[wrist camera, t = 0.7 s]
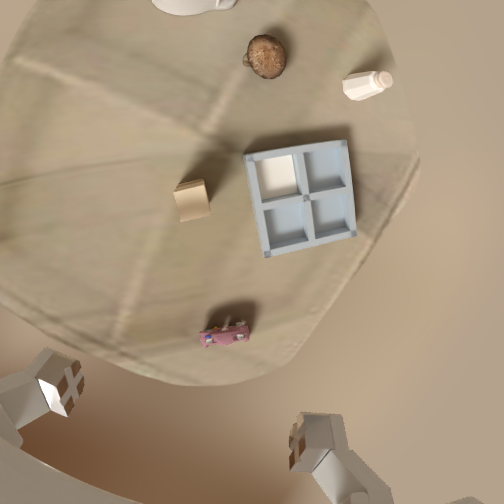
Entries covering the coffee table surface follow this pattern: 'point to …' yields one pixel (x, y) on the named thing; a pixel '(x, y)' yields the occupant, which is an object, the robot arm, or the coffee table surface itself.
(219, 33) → the coffee table surface
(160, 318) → the coffee table surface
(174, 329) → the coffee table surface
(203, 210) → the birch block
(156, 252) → the coffee table surface
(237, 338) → the video game controller
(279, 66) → the mushroom
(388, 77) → the pepper shaker
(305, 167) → the divided tray
